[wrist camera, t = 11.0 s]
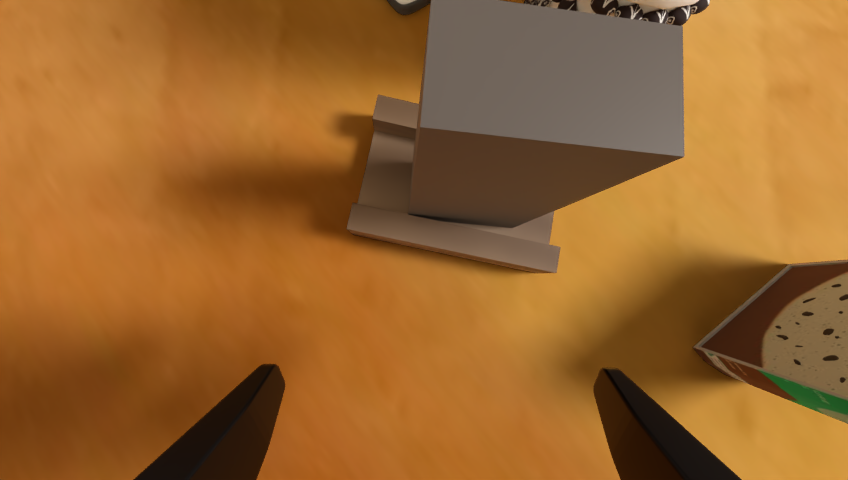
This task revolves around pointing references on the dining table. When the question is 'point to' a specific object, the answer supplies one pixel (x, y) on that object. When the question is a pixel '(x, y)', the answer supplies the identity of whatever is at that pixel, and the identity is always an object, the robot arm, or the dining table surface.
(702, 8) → the decorative candle
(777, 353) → the food container
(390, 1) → the cell phone
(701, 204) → the dining table surface
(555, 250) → the tray
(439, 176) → the grey rectangular box
